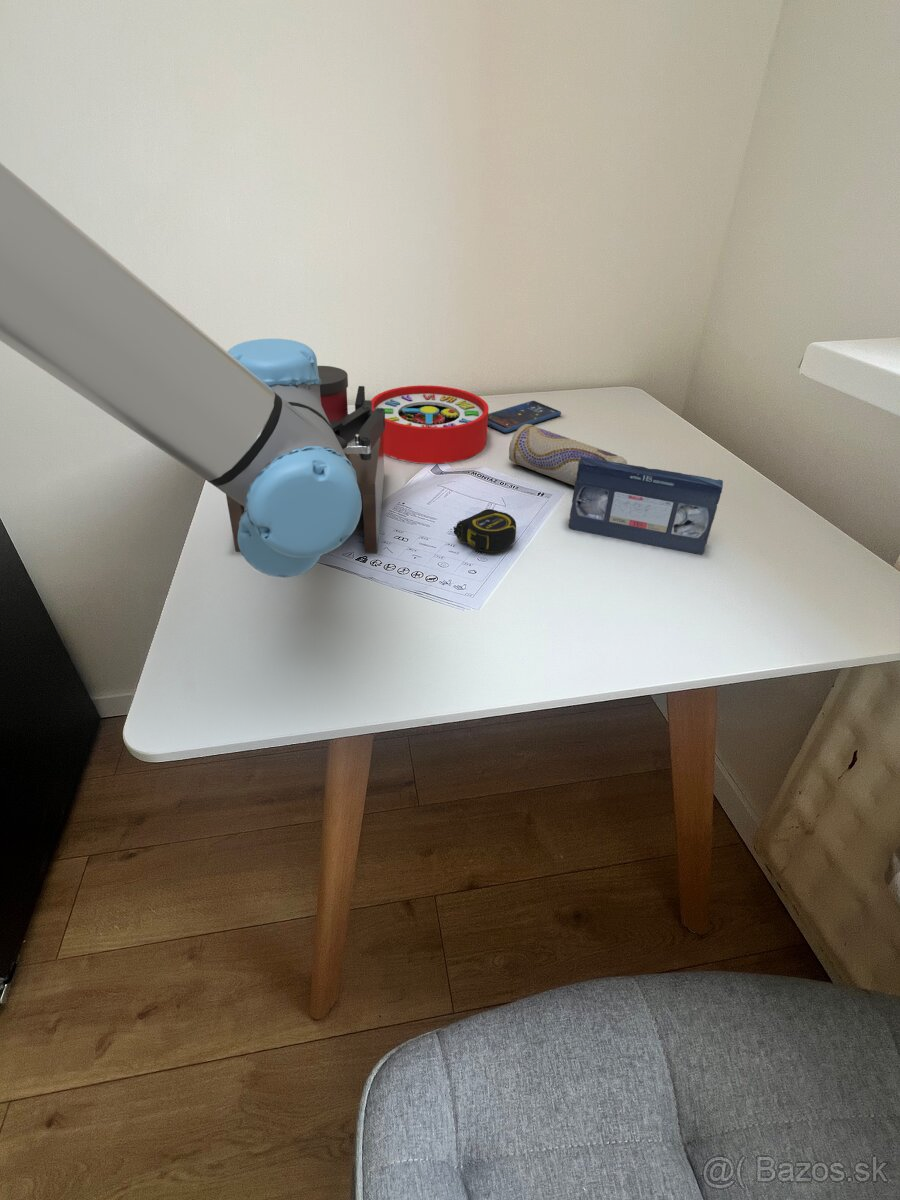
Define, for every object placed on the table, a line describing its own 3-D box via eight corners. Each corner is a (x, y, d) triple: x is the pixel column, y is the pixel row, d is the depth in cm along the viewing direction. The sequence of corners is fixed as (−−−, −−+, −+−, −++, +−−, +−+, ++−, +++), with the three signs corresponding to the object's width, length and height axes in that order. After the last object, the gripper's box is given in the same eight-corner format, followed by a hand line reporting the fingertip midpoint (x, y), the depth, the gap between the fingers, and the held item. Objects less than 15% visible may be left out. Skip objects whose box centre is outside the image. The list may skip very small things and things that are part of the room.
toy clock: (484, 387, 125) (493, 430, 109) (482, 418, 128) (490, 465, 112) (372, 383, 124) (364, 427, 108) (373, 415, 128) (366, 462, 111)
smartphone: (476, 416, 126) (533, 399, 135) (476, 420, 127) (532, 403, 135) (505, 430, 122) (562, 411, 130) (505, 434, 122) (562, 415, 131)
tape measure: (488, 526, 97) (490, 502, 94) (525, 546, 93) (528, 521, 90) (452, 542, 93) (453, 517, 90) (489, 564, 89) (491, 538, 87)
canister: (294, 461, 88) (286, 383, 82) (302, 439, 93) (295, 364, 87) (349, 462, 88) (345, 384, 82) (353, 440, 94) (349, 366, 88)
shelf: (235, 551, 89) (223, 480, 83) (266, 474, 107) (257, 411, 101) (377, 553, 90) (375, 483, 84) (384, 477, 108) (382, 414, 102)
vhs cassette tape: (566, 528, 97) (577, 462, 91) (571, 519, 99) (581, 454, 93) (703, 557, 92) (723, 489, 86) (704, 546, 94) (724, 479, 88)
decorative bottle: (503, 469, 111) (506, 429, 107) (530, 455, 116) (534, 417, 112) (650, 526, 98) (660, 483, 94) (673, 507, 103) (684, 466, 99)
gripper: (405, 440, 71) (408, 368, 89) (191, 435, 70) (238, 364, 88) (405, 505, 76) (407, 424, 94) (204, 501, 75) (246, 421, 93)
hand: (325, 395), depth 91 cm, fingers open, 9 cm apart
